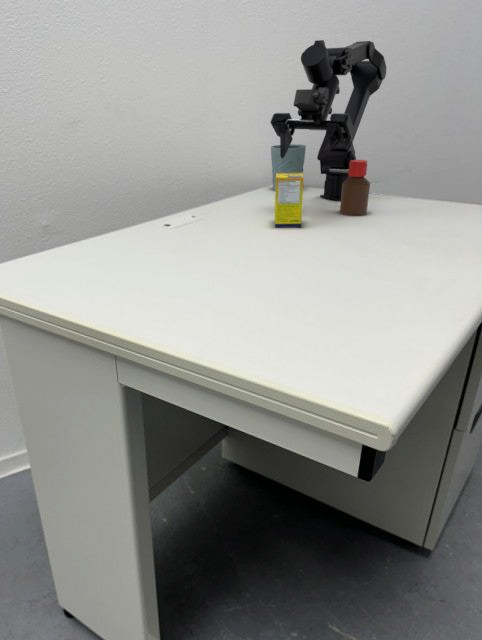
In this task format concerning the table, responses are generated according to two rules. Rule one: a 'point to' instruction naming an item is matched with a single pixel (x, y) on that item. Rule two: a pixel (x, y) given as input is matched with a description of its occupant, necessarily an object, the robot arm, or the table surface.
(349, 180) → the bottle
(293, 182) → the supplement box
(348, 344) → the table surface
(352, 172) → the cap
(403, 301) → the table surface
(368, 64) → the robot arm
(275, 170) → the teal cup
